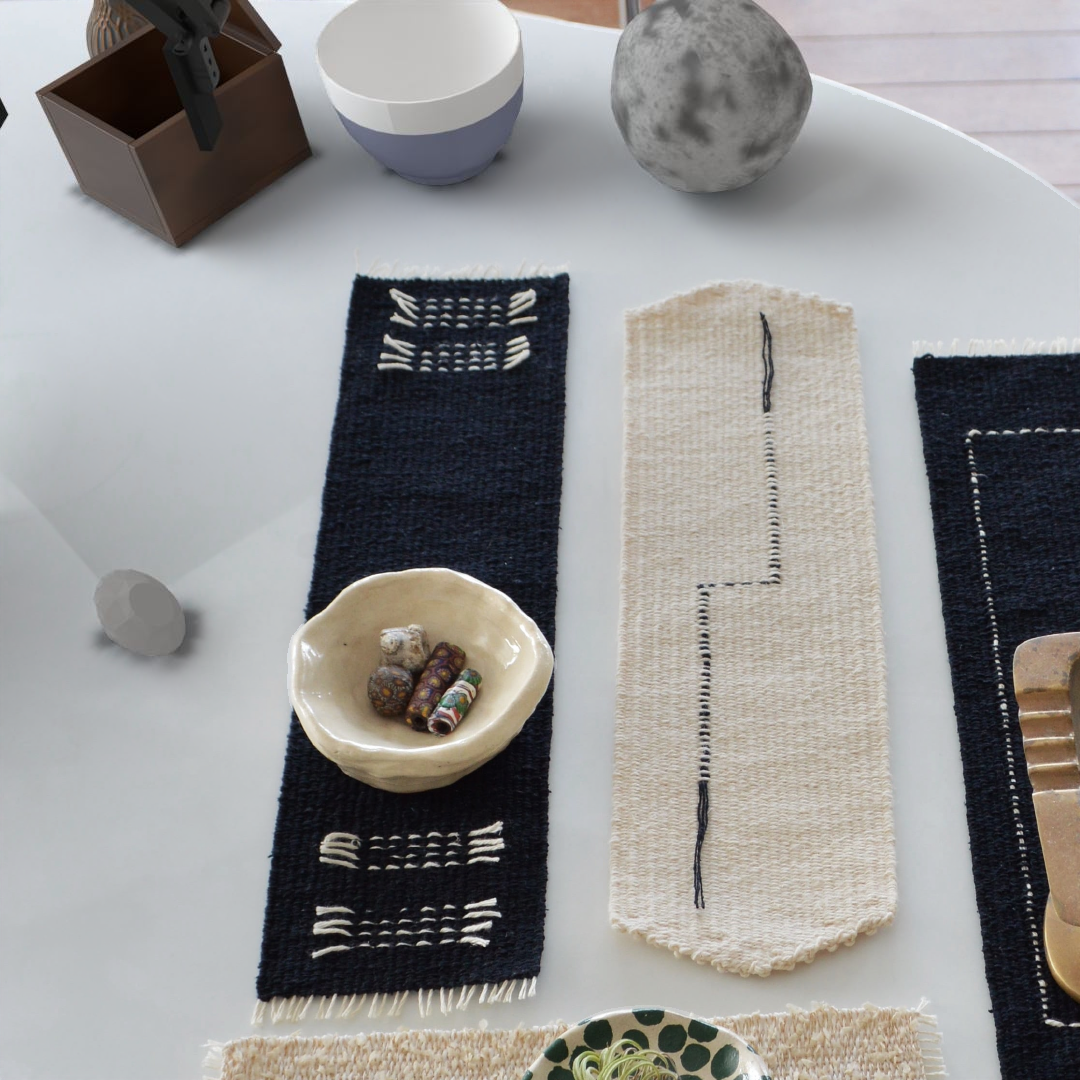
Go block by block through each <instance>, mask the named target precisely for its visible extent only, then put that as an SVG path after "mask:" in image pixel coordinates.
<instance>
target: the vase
mask: <svg viewBox="0 0 1080 1080" xmlns="http://www.w3.org/2000/svg"><path fill="white" fill-rule="evenodd" d="M148 24H150V22H149V21H148V20H147V19H146V18H144V17H143V16H142V15H141V14H140V13H138V12H137V11H136V10H135V9H134V8H133V7H131V6H130V5H129V4H128V3H127V2H125V1H124V0H93V5H92V7H91V11H90V13H89V16H88V19H87V23H86V28H85V39H86V40H85V41H86V47H87V52H88V57H89V60H90V59H91V58H93V57H95V56H96V55H98V54H100V53H101V52H103V51H105V50H106V49H108V48H110V47H111V46H113V45H115V44H116V43H118V42H120V41H121V40H123V39H125V38H126V37H128V36H130V35H131V34H133V33H135V32H136V31H138V30H140V29H141V28H143V27H145V26H146V25H148Z"/></svg>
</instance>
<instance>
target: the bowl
mask: <svg viewBox="0 0 1080 1080" xmlns="http://www.w3.org/2000/svg"><path fill="white" fill-rule="evenodd" d="M318 35H319V36H318V38H317V41H316V43H315V53H314V55H315V57H314V58H315V62H316V65H317V70H318V72H319V75H320V78H321V80H322V83H323V86H324V88H325V91H326V93H327V96H328V99H329V101H330V102H331V104H332V106H333V108H334V110H335V111H336V114H337V115H338V117H339V119H340V121H341V123H342V126H344V128H345V130H346V131H347V133H348V135H350V137H351V138H352V139H354V141H355V142H356V143H357V144H358V145H359V146H360V147H361V148H362V149H363V150H364V151H365V152H366V153H367V154H368V155H369V156H370V157H372V159H374V160H375V161H376V162H378V163H379V164H381V165H383V166H384V167H386V168H388V169H391V170H393V171H394V172H395V173H396V174H398V175H399V176H400V177H402V178H404V179H406V180H407V181H411V182H413V183H416V184H421V185H429V186H444V185H445V186H446V185H452V184H457V183H461V182H464V181H466V180H469V179H471V178H473V177H475V176H477V175H479V174H480V173H482V172H484V171H485V170H486V169H487V168H488V167H490V165H491V164H492V163H493V161H494V160H495V158H496V156H497V153H499V151H500V150H501V149H502V148H503V147H504V146H505V145H506V144H507V142H508V140H509V139H510V138H511V136H512V133H513V130H514V128H515V125H516V123H517V120H518V117H519V114H520V112H521V108H522V106H523V101H524V81H525V80H524V79H525V77H524V76H525V60H524V49H523V48H524V47H523V39H522V30H521V27H520V24H519V22H518V20H517V17H516V16H515V14H513V12H512V11H511V10H510V9H509V7H507V5H505V4H504V3H503V2H501V1H500V0H355V1H353V2H351V3H350V4H348V5H347V6H345V7H344V8H342V9H340V10H339V11H338V12H336V14H335V15H334V16H332V17H331V18H330V19H329V20H328V21H327V23H326V24H325V26H324V27H323V28H322V29H321V31H320V33H319V34H318Z"/></svg>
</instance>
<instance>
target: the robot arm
mask: <svg viewBox="0 0 1080 1080" xmlns="http://www.w3.org/2000/svg"><path fill="white" fill-rule="evenodd" d="M124 1H125V2H127V3H128V4H129V5H130V6H131V7H133V8H134V9H135V10H136V11H137V12H138V13H140V14H141V15H142V16H143V17H144V18H146V19H147V20H148V21H149V22H150V23H152V24H153V25H154V26H155V27H156V28H158V29H159V30H160V31H161V32H162V33H163V34H165V35H166V36H167V37H168V39H167V41H166V43H165V45H164V47H163V49H162V50H163V53H164V56H165V58H166V61H167V64H168V66H169V69H170V72H171V74H172V77H173V80H174V82H175V85H176V88H177V90H178V93H179V96H180V99H181V101H182V104H183V107H184V109H185V112H186V115H187V117H188V120H189V123H190V125H191V128H192V131H193V133H194V136H195V139H196V141H197V144H198V147H199V149H200V151H213V148H214V146H215V144H216V141H217V139H218V137H219V134H220V132H221V130H222V127H223V125H224V123H223V121H222V118H221V115H220V112H219V109H218V106H217V104H216V101H215V98H214V95H213V92H214V90H215V88H216V86H217V83H218V81H219V70H218V67H217V64H216V61H215V58H214V55H213V52H212V49H211V47H210V44H209V41H208V38H207V37H209V38H216V37H217V36H218V35H219V34H220V32H221V29H222V27H223V25H224V23H225V21H226V19H227V16H228V14H229V12H230V9H231V5H230V2H229V1H228V0H124ZM8 117H9V112H8V110H7V109H6V106H5V104H4V102H3V100H2V98H1V97H0V130H1V129H2V127H3V125H4V124H5V121H6V120H7V118H8Z"/></svg>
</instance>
